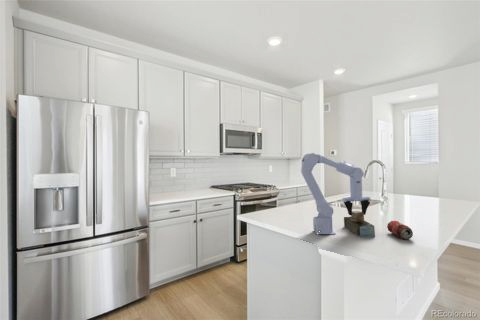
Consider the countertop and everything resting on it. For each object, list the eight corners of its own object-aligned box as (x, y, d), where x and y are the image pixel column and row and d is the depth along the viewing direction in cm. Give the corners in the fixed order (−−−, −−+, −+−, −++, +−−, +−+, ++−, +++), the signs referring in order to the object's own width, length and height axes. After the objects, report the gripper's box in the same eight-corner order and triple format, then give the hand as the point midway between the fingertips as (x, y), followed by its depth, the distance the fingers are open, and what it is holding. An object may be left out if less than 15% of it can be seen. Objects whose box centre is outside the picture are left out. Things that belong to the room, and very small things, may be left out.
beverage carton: (359, 237, 118) (359, 224, 118) (343, 227, 137) (343, 216, 137) (375, 237, 118) (375, 224, 118) (357, 226, 137) (356, 215, 137)
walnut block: (355, 221, 124) (355, 213, 124) (351, 219, 128) (350, 211, 128) (364, 221, 124) (363, 212, 124) (359, 219, 128) (358, 211, 128)
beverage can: (399, 240, 111) (399, 226, 111) (387, 233, 123) (386, 220, 123) (416, 241, 110) (415, 227, 110) (401, 233, 122) (401, 220, 122)
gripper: (347, 190, 122) (348, 217, 122) (373, 189, 123) (374, 215, 123) (340, 189, 129) (341, 214, 129) (365, 188, 130) (366, 212, 130)
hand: (357, 214), depth 126 cm, fingers open, 7 cm apart
